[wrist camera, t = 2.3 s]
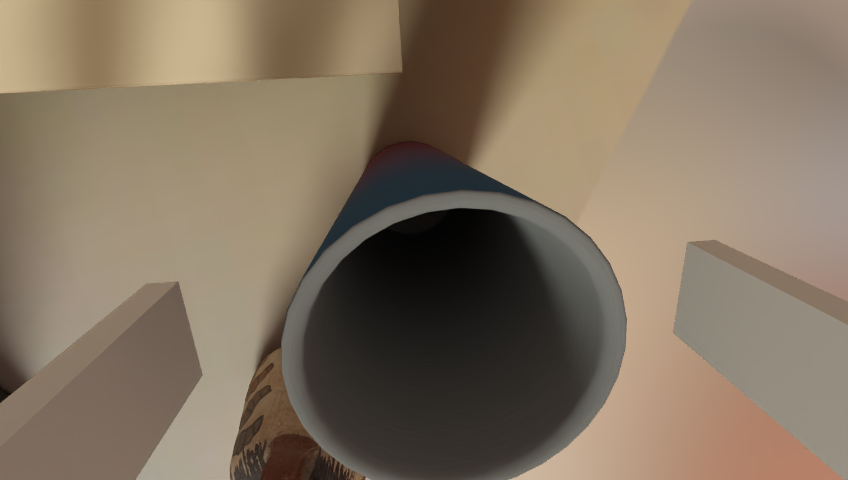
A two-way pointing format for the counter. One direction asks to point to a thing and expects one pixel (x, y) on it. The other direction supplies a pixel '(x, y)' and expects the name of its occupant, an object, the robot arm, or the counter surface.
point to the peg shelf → (191, 41)
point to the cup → (450, 326)
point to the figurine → (278, 435)
